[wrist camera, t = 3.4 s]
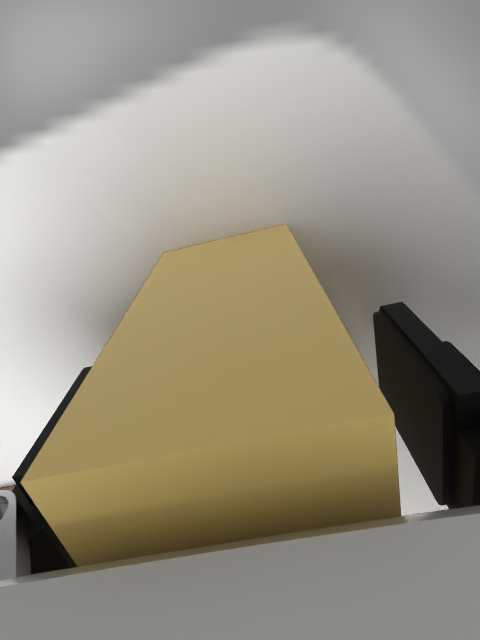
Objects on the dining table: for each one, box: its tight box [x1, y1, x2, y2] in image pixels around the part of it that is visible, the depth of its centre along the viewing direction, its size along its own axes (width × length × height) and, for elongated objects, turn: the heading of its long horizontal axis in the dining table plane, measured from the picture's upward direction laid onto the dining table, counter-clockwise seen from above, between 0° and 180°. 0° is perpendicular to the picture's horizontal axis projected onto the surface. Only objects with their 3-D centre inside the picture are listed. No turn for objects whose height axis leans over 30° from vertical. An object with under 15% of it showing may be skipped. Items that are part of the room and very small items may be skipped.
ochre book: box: [20, 224, 401, 567], centre depth 9 cm, size 4×7×9 cm, turn 13°
